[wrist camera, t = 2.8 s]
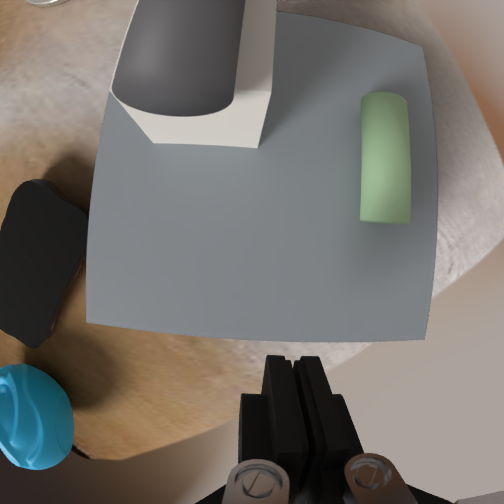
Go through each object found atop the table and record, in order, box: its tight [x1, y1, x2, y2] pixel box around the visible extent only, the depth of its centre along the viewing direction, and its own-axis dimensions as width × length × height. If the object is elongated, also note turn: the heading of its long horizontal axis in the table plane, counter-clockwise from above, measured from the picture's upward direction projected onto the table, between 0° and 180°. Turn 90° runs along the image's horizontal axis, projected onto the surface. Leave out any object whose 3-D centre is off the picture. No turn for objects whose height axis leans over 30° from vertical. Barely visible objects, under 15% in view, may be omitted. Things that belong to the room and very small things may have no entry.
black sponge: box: [0, 179, 89, 348], centre depth 23 cm, size 16×8×4 cm, turn 141°
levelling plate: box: [86, 0, 438, 342], centre depth 11 cm, size 18×18×12 cm
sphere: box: [0, 364, 74, 470], centre depth 23 cm, size 12×11×12 cm
